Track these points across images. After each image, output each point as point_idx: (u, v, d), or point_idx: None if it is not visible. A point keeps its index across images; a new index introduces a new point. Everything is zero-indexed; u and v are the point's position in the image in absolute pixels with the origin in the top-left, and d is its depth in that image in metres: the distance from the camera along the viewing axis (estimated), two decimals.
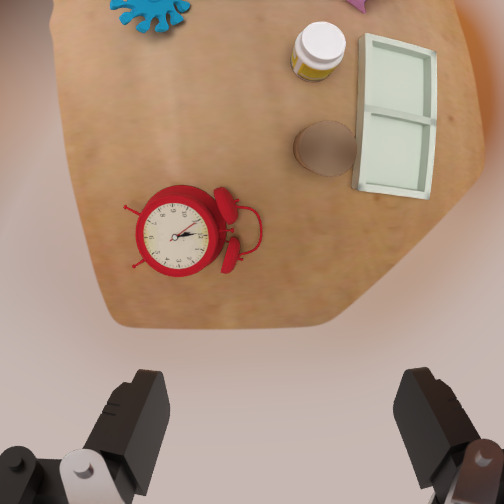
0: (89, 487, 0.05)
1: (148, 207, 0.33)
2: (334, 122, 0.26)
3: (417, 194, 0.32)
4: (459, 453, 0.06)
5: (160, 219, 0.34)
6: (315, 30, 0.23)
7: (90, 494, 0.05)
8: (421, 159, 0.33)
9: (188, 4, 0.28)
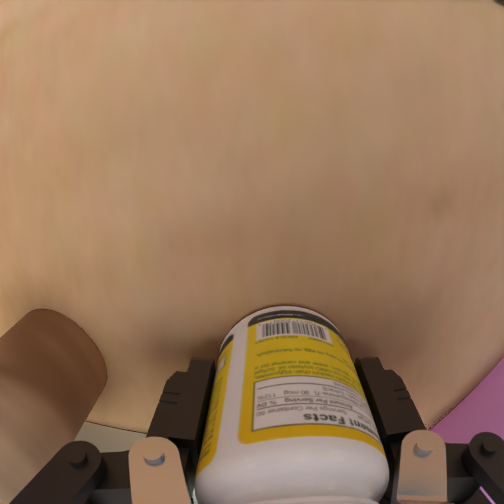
0: (157, 476, 0.05)
1: None
2: None
3: None
4: (399, 443, 0.07)
5: None
6: None
7: (167, 481, 0.05)
8: None
9: None
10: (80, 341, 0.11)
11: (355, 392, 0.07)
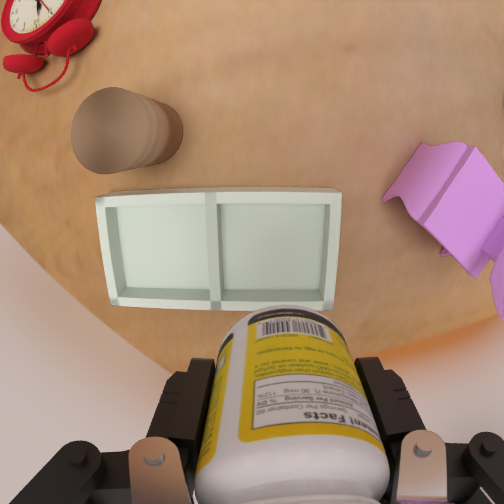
0: (157, 476, 0.05)
1: None
2: (144, 129, 0.16)
3: (111, 286, 0.24)
4: (399, 443, 0.07)
5: None
6: None
7: (167, 481, 0.05)
8: (164, 290, 0.26)
9: None
10: (174, 111, 0.22)
11: (355, 390, 0.07)
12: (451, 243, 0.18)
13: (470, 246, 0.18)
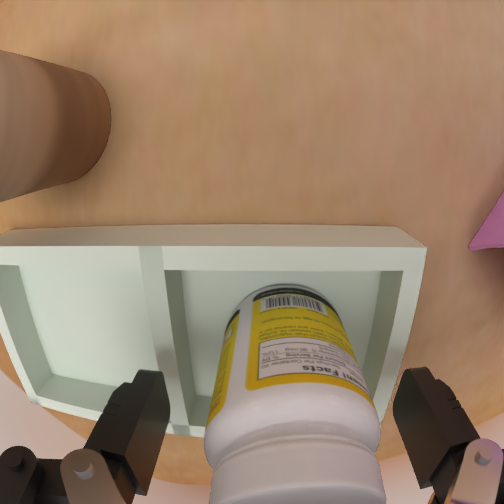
0: (90, 487, 0.05)
1: None
2: None
3: (25, 380, 0.12)
4: (458, 453, 0.06)
5: None
6: None
7: (91, 494, 0.05)
8: (102, 388, 0.14)
9: None
10: (93, 82, 0.10)
11: (348, 354, 0.09)
12: None
13: None
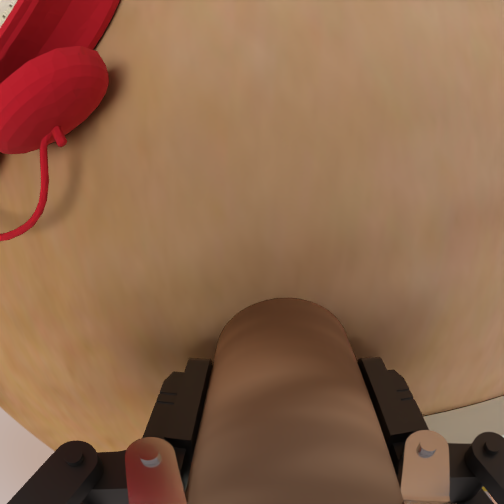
0: (153, 476, 0.05)
1: None
2: None
3: None
4: (403, 443, 0.06)
5: None
6: None
7: (163, 481, 0.05)
8: None
9: None
10: (343, 330, 0.11)
11: (487, 492, 0.09)
12: None
13: None
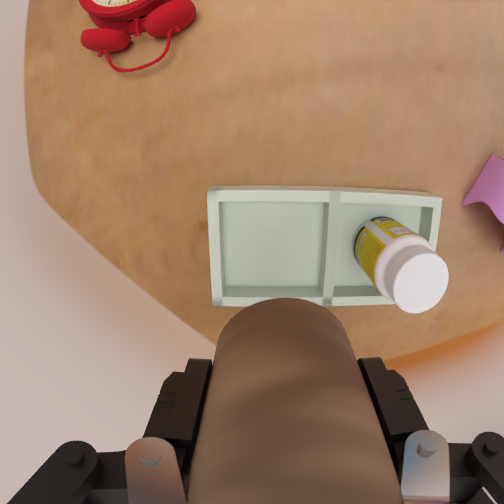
0: (153, 476, 0.05)
1: None
2: None
3: (216, 286, 0.25)
4: (403, 443, 0.06)
5: None
6: (437, 272, 0.17)
7: (163, 481, 0.05)
8: (269, 288, 0.26)
9: None
10: (343, 330, 0.11)
11: None
12: None
13: None
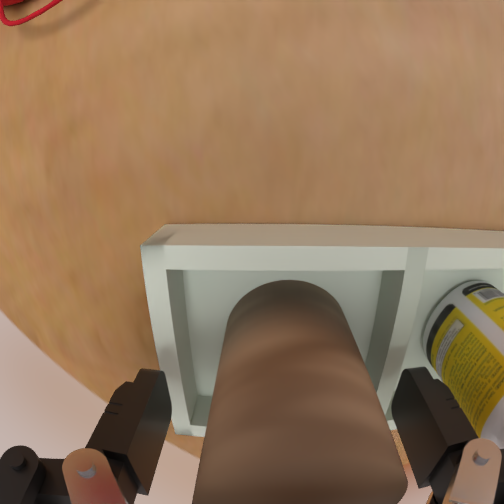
0: (92, 487, 0.05)
1: None
2: None
3: (178, 410, 0.12)
4: (457, 452, 0.06)
5: None
6: None
7: (93, 493, 0.05)
8: None
9: None
10: (340, 309, 0.12)
11: None
12: None
13: None
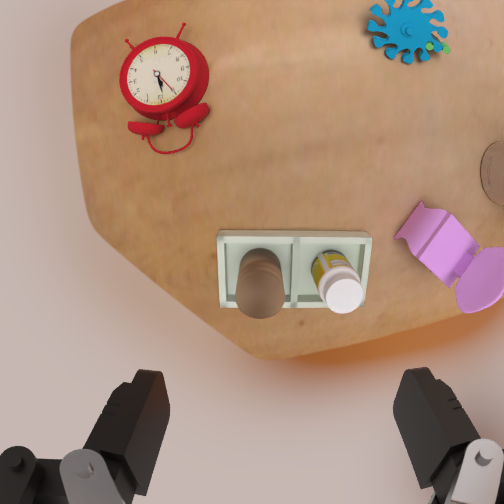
0: (89, 487, 0.05)
1: (184, 45, 0.29)
2: (283, 299, 0.32)
3: (222, 294, 0.39)
4: (459, 453, 0.06)
5: (173, 57, 0.30)
6: (354, 289, 0.31)
7: (90, 494, 0.05)
8: None
9: (392, 57, 0.31)
10: (276, 257, 0.38)
11: (351, 265, 0.35)
12: (434, 268, 0.32)
13: (445, 269, 0.32)
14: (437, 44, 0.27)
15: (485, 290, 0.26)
